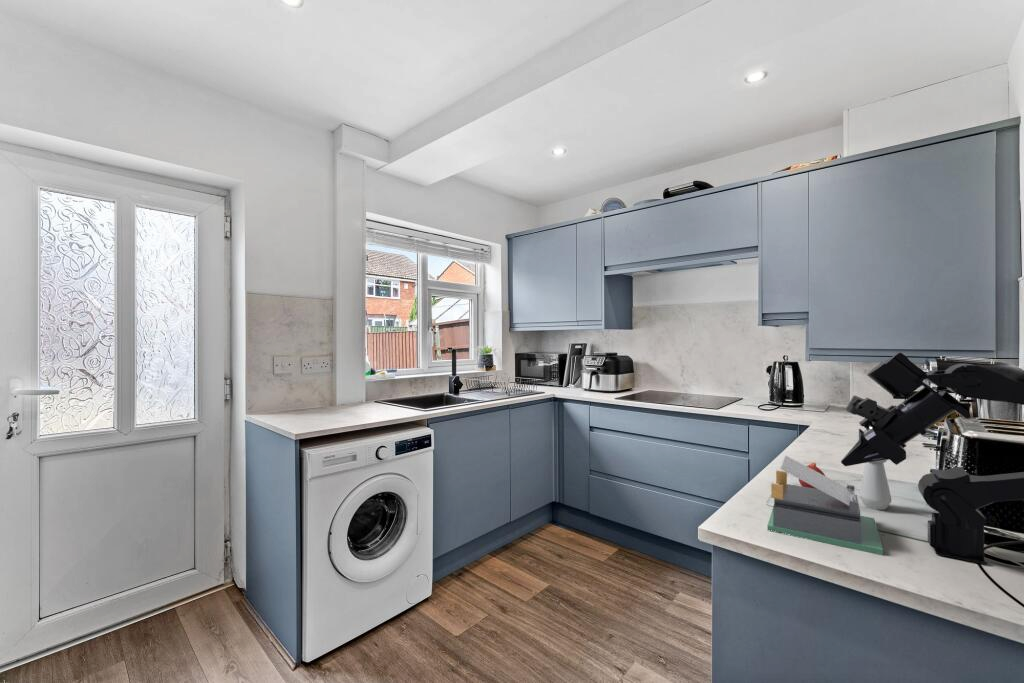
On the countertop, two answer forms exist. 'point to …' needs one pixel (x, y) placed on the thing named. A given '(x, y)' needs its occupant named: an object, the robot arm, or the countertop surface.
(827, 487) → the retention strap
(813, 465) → the onion
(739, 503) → the countertop surface
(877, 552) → the processor board
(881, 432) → the robot arm
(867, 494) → the salt shaker
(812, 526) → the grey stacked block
